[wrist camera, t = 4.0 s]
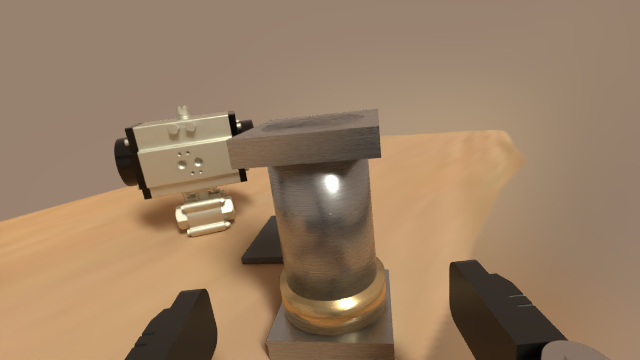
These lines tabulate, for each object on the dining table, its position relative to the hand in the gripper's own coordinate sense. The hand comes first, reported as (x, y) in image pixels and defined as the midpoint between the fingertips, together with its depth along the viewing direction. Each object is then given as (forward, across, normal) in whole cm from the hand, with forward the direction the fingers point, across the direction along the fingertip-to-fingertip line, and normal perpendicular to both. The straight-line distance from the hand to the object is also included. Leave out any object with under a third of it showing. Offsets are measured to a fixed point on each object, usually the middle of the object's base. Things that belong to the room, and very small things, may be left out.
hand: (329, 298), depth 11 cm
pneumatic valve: (+21, +12, +6) cm, 25 cm away
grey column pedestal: (+6, 0, +6) cm, 9 cm away
